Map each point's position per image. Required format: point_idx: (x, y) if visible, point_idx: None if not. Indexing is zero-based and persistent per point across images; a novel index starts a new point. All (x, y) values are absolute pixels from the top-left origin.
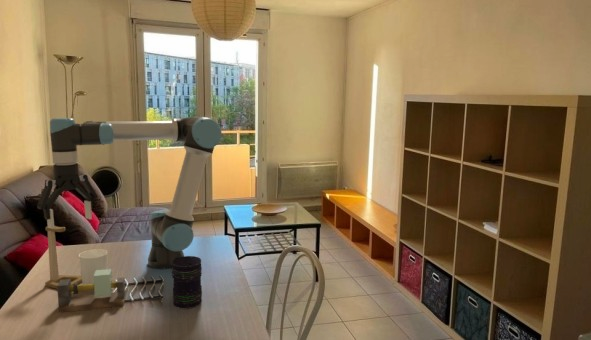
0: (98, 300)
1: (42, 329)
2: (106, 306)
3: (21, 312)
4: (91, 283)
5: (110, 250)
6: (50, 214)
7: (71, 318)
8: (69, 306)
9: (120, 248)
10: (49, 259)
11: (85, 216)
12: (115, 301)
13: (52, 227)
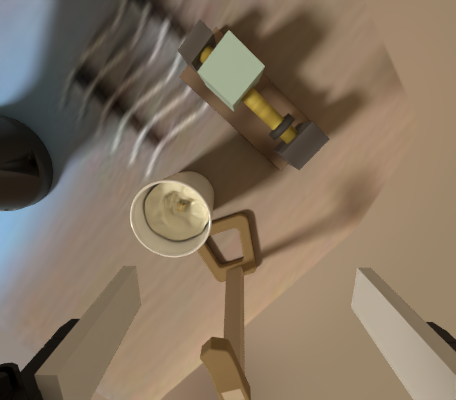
0: None
1: (378, 84)
2: None
3: (349, 192)
4: (206, 180)
5: None
6: (443, 346)
7: (318, 78)
8: (301, 115)
9: (47, 318)
10: (243, 304)
11: (136, 312)
12: None
13: (373, 272)
